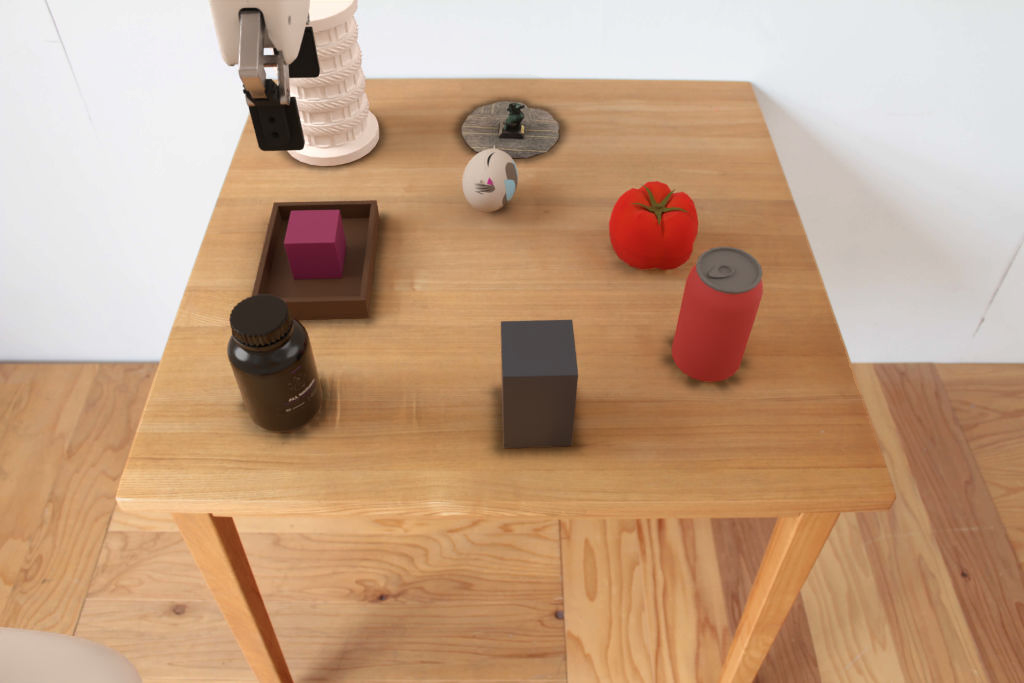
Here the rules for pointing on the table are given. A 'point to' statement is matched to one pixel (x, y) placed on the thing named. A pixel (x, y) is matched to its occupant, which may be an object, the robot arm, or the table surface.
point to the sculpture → (510, 129)
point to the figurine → (490, 180)
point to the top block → (315, 244)
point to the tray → (322, 294)
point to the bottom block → (538, 383)
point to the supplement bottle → (273, 364)
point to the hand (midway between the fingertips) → (292, 110)
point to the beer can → (717, 314)
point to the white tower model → (334, 91)
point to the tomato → (653, 227)
